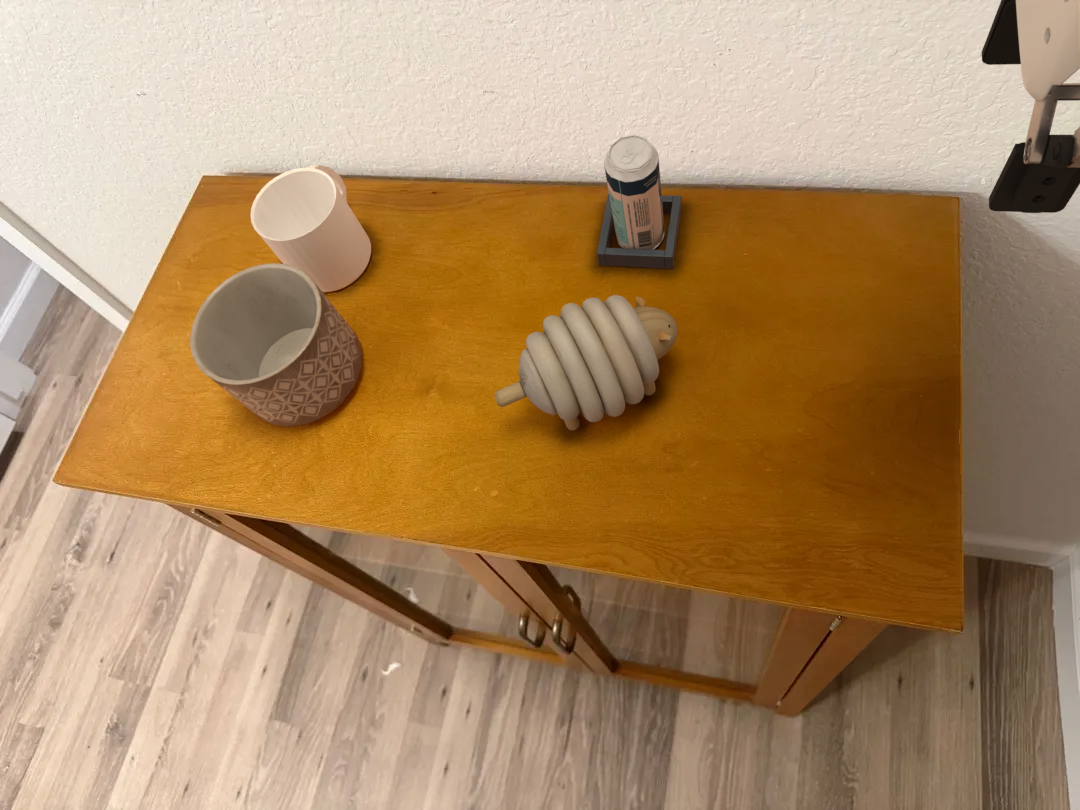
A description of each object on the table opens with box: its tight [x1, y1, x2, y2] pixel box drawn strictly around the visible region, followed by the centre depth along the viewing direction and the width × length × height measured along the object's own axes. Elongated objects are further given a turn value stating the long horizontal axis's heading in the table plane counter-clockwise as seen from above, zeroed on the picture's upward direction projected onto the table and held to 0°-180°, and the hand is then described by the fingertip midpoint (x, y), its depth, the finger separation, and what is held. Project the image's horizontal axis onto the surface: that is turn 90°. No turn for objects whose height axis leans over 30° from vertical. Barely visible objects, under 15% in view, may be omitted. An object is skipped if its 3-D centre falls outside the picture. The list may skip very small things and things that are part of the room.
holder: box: [596, 193, 683, 270], centre depth 77 cm, size 7×7×2 cm
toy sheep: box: [494, 294, 679, 431], centre depth 66 cm, size 11×17×11 cm, turn 116°
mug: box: [249, 164, 372, 293], centre depth 81 cm, size 12×9×9 cm
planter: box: [189, 262, 363, 427], centre depth 74 cm, size 13×13×10 cm
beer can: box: [603, 134, 665, 250], centre depth 72 cm, size 5×5×12 cm
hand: (1018, 130), depth 39 cm, fingers open, 9 cm apart
